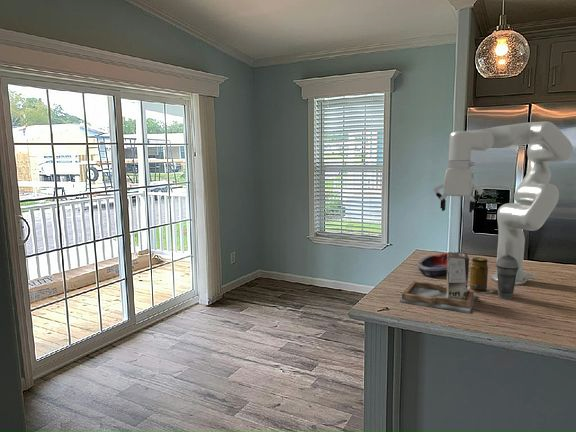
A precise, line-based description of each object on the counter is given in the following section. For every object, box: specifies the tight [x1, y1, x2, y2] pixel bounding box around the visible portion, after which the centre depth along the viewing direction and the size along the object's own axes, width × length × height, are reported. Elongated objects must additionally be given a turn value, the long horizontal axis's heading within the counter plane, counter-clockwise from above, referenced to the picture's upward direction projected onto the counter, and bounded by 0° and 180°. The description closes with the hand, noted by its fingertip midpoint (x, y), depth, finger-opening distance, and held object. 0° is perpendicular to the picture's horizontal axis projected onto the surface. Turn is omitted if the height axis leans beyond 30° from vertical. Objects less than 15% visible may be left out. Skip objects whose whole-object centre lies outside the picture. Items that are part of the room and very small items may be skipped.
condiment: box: [467, 257, 495, 295], centre depth 164 cm, size 7×8×12 cm
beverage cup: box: [495, 243, 519, 300], centre depth 155 cm, size 7×7×20 cm
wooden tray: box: [399, 280, 477, 314], centre depth 155 cm, size 23×19×3 cm
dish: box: [417, 252, 448, 277], centre depth 193 cm, size 16×31×5 cm, turn 142°
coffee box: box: [445, 251, 470, 301], centre depth 151 cm, size 9×6×16 cm
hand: (456, 211), depth 161 cm, fingers open, 9 cm apart
